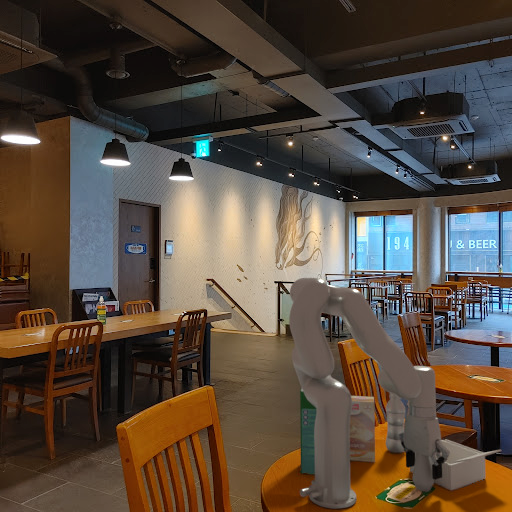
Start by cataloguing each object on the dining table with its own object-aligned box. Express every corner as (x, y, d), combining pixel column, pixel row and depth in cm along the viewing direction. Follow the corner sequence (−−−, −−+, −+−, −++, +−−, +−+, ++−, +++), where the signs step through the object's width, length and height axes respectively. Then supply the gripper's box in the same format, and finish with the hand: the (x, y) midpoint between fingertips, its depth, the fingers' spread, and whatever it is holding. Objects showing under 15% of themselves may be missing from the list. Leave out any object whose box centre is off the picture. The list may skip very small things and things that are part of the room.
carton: (450, 491, 132) (449, 464, 132) (407, 471, 145) (406, 446, 145) (486, 478, 139) (486, 453, 140) (442, 461, 153) (442, 437, 153)
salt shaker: (436, 486, 134) (435, 440, 135) (431, 494, 130) (430, 446, 130) (415, 482, 138) (414, 436, 138) (410, 489, 133) (409, 442, 133)
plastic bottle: (391, 446, 166) (390, 389, 167) (409, 451, 161) (408, 392, 162) (382, 451, 161) (381, 392, 162) (400, 457, 157) (399, 396, 157)
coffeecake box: (328, 459, 155) (327, 399, 156) (330, 451, 162) (329, 393, 163) (375, 462, 152) (374, 401, 153) (374, 454, 159) (374, 396, 160)
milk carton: (330, 475, 142) (329, 391, 143) (300, 473, 144) (300, 390, 145) (331, 464, 151) (331, 385, 152) (303, 462, 153) (303, 384, 154)
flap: (452, 461, 133) (453, 463, 132) (470, 458, 128) (471, 460, 128) (482, 452, 139) (483, 454, 139) (501, 449, 134) (501, 450, 134)
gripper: (389, 405, 140) (391, 464, 139) (438, 420, 125) (439, 487, 124) (408, 401, 144) (409, 459, 143) (456, 416, 129) (458, 480, 128)
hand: (423, 472), depth 134 cm, fingers open, 9 cm apart
